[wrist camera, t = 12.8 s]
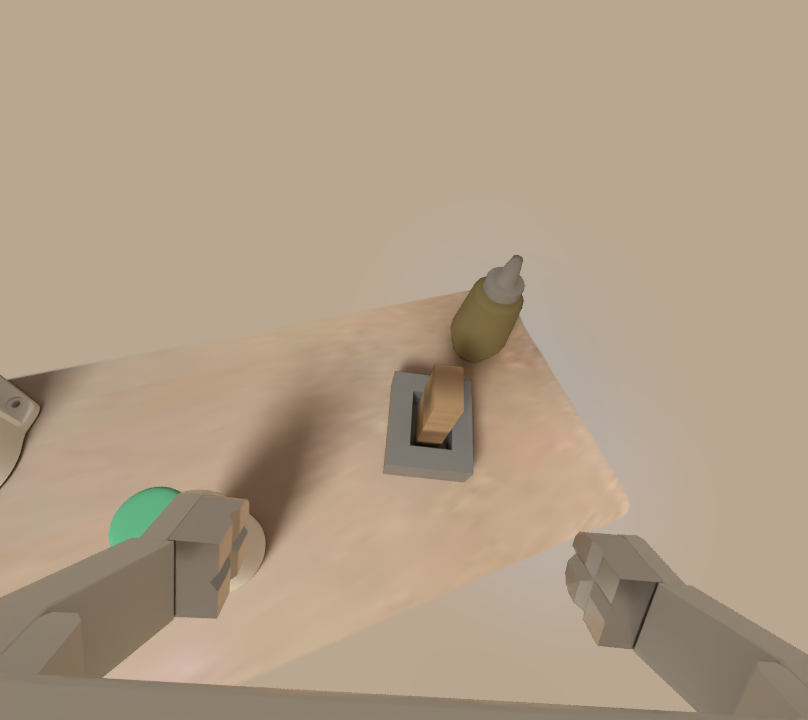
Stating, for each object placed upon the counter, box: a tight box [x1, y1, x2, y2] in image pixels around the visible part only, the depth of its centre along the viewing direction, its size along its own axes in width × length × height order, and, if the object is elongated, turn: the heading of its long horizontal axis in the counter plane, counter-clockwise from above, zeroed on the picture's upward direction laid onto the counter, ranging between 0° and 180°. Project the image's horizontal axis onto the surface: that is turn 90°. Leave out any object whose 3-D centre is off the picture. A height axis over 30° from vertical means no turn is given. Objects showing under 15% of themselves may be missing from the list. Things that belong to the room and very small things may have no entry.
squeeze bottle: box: [451, 255, 524, 362], centre depth 51 cm, size 8×8×18 cm
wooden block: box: [414, 364, 464, 449], centre depth 45 cm, size 5×3×12 cm, turn 176°
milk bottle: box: [109, 487, 266, 591], centre depth 33 cm, size 8×8×20 cm
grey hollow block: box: [383, 371, 473, 482], centre depth 49 cm, size 12×10×4 cm
